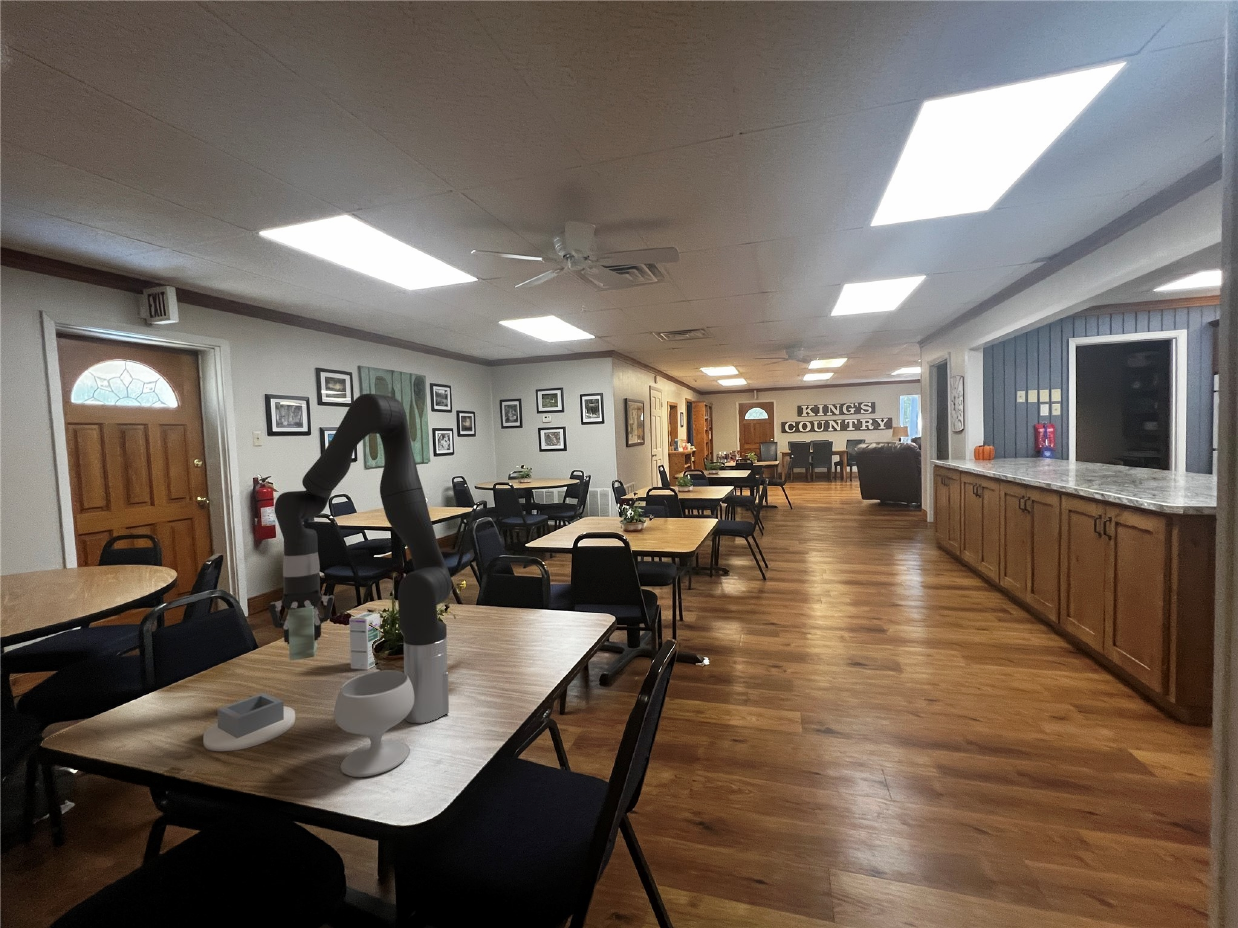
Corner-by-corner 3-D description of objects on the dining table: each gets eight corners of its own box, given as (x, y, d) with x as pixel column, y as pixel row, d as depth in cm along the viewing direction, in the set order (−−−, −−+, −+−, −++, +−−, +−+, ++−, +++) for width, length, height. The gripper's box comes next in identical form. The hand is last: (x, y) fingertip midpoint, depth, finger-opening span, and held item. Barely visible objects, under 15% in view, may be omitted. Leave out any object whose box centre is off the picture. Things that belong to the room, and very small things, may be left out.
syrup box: (368, 670, 141) (367, 618, 141) (349, 668, 142) (349, 617, 142) (381, 662, 146) (381, 612, 146) (363, 660, 147) (363, 611, 147)
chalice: (381, 734, 107) (381, 663, 107) (430, 749, 101) (429, 674, 101) (317, 770, 94) (317, 690, 94) (369, 790, 88) (368, 704, 88)
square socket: (273, 706, 120) (272, 683, 120) (309, 722, 112) (309, 698, 112) (189, 737, 106) (189, 711, 106) (224, 759, 98) (224, 731, 98)
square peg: (316, 650, 126) (315, 602, 127) (313, 656, 122) (312, 607, 122) (293, 653, 124) (292, 605, 125) (289, 660, 120) (288, 610, 120)
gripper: (262, 578, 117) (264, 651, 117) (333, 571, 123) (335, 641, 123) (270, 572, 124) (271, 641, 124) (336, 566, 130) (338, 632, 130)
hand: (303, 641), depth 123 cm, fingers closed on square peg, 5 cm apart
